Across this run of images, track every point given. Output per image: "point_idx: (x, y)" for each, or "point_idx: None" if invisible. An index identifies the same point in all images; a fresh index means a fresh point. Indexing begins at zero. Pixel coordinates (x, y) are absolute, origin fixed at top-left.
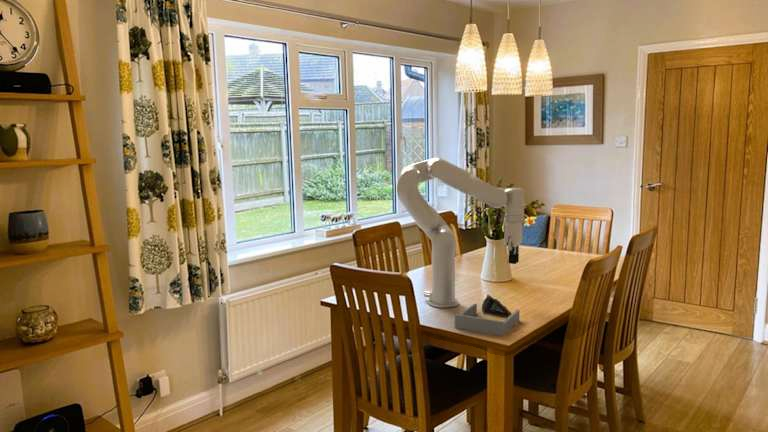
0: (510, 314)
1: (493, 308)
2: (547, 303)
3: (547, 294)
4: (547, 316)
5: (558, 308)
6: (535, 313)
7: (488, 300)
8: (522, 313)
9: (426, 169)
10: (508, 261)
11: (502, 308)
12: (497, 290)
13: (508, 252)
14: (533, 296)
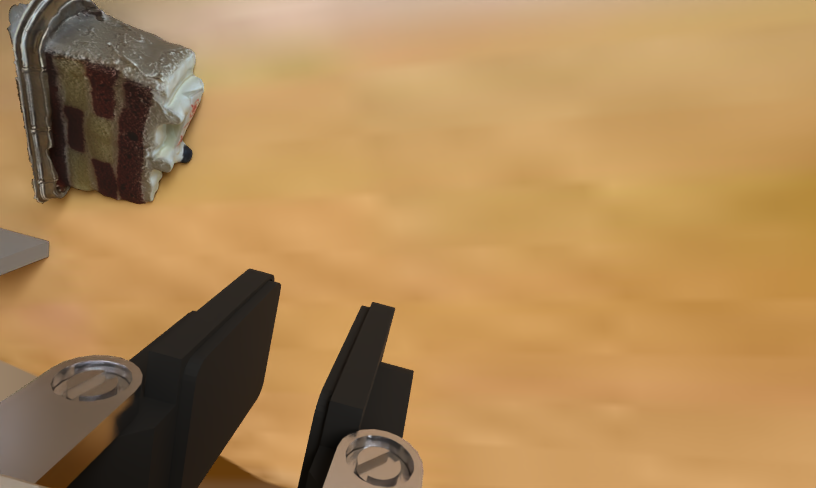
0: (127, 199)
1: (191, 70)
2: (442, 419)
3: (666, 429)
4: None
5: None
6: None
7: (56, 27)
8: (184, 271)
9: None
10: (241, 275)
11: (47, 153)
12: (762, 42)
13: (43, 374)
14: (599, 339)
